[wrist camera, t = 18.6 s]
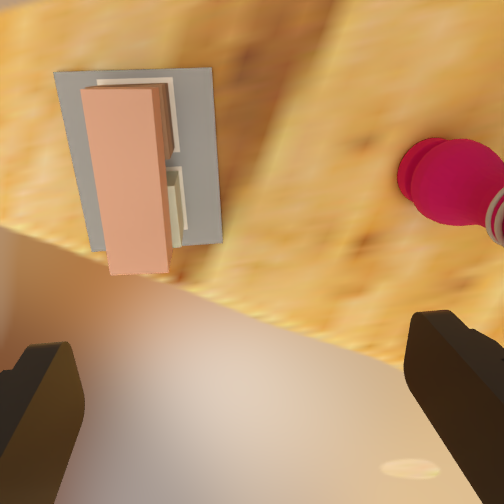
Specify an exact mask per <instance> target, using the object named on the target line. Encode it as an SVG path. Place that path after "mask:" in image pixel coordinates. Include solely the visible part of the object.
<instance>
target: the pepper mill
mask: <svg viewBox="0 0 504 504" xmlns="http://www.w3.org/2000/svg"><path fill="white" fill-rule="evenodd" d="M397 179H398V185H399V188H400V190H401V192H402V194H403V195H404V196H405V197H406V198H407V199H409V200H410V201H412V202H414V205H415V206H416V208H417V209H418V211H419V212H420V213H422V214H423V215H424V216H425V217H427V218H429V219H431V220H433V221H436V222H438V223H440V224H446V225H453V226H464V225H481V226H483V227H485V228H486V230H487V233H488V235H489V236H490V238H491V239H492V240H493V241H494V242H495V243H497V244H499V245H501V246H503V247H504V163H503V161H502V160H501V159H500V157H499V156H498V155H497V154H496V153H494V152H493V151H492V150H491V149H490V148H489V147H487V146H485V145H483V144H481V143H478V142H476V141H473V140H469V139H453V140H446V139H443V138H429V139H425V140H423V141H421V142H419V143H417V144H416V145H414V146H413V147H412V148H411V149H410V150H409V151H408V152H407V153H406V154H405V156H404V157H403V159H402V161H401V163H400V166H399V169H398V174H397Z"/></svg>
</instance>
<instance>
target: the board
mask: <svg viewBox="0 0 504 504" xmlns="http://www.w3.org/2000/svg"><path fill="white" fill-rule="evenodd" d="M53 74H54V79H55V83H56V88H57V93H58V97H59V102H60V106H61V111H62V116H63V120H64V125H65V130H66V134H67V139H68V144H69V148H70V153H71V157H72V162H73V167H74V171H75V176H76V181H77V185H78V190H79V195H80V199H81V204H82V209H83V213H84V218H85V222H86V227H87V232H88V236H89V241H90V246H91V250H92V252H97V251H106V246H105V240H104V233H103V227H102V221H101V215H100V209H99V203H98V197H97V190H96V184H95V178H94V172H93V166H92V160H91V154H90V147H89V141H88V135H87V129H86V123H85V117H84V111H83V104H82V98H81V92H80V89H85V87H90V86H98V85H115V84H146V83H168V89H169V99H170V108H171V117H172V127H173V136H174V145H175V148H174V151H173V153H172V156H171V158H170V159H168V160H165V166H166V172H167V171H179V181H180V190H181V200H182V209H183V219H184V231H183V238H182V245H181V246H186V245H201V244H215V243H223V238H222V223H221V207H220V191H219V175H218V160H217V144H216V128H215V112H214V97H213V81H212V67H211V68H177V69H143V70H109V71H74V72H53Z"/></svg>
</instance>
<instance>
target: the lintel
mask: <svg viewBox="0 0 504 504" xmlns="http://www.w3.org/2000/svg"><path fill="white" fill-rule="evenodd" d="M80 92H81V98H82V104H83V111H84V117H85V123H86V129H87V135H88V141H89V147H90V154H91V160H92V166H93V172H94V178H95V184H96V190H97V197H98V203H99V209H100V215H101V221H102V227H103V233H104V240H105V246H106V252H107V258H108V264H109V270H110V275H130V274H152V273H169V268H170V262H171V257H172V251H173V246H172V235H171V223H170V212H169V200H168V189H167V177H166V166H165V154H164V142H163V131H162V119H161V108H160V96H159V87H94V88H86V89H80Z"/></svg>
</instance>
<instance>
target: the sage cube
mask: <svg viewBox="0 0 504 504" xmlns="http://www.w3.org/2000/svg"><path fill="white" fill-rule="evenodd" d="M166 177H167V189H168V200H169V212H170V223H171V235H172V246H173V248H178V247H181V245H182V238H183V231H184V219H183V209H182V200H181V190H180V181H179V171H167V172H166Z"/></svg>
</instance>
